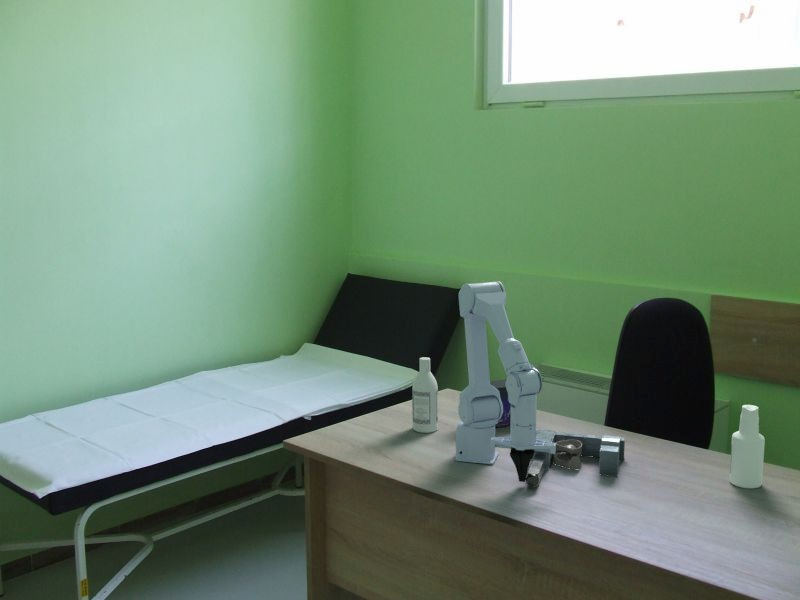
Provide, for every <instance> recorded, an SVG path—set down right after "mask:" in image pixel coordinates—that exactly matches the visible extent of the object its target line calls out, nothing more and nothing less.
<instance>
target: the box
mask: <svg viewBox="0 0 800 600" xmlns="http://www.w3.org/2000/svg"><path fill="white" fill-rule="evenodd" d="M506 380H507V378H506V379H499V380H490V384H491V385H492V386H493V387H495V388H496V389H497V390H499V393H500V399H501V402H502V405H503V414H502V417H501V418H500V419H499V420H498V424H495V429H499V427H500V428H505V426H508V427H510V421H511V403H509V400H508V392H507V389H506ZM481 397H484V396H481ZM475 398H477V397H475Z"/></svg>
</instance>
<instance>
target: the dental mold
mask: <svg viewBox="0 0 800 600" xmlns="http://www.w3.org/2000/svg"><path fill="white" fill-rule="evenodd" d="M556 450H557V451H559V450H561V451H567V452H562V453H555V454H552V461H551V463H552V462H553V463H554V464H556V465H555V466H557V465H560V466H559V467H561V466H563V467H562V468H564V467H566V468H565V469H567V468H570V469H569V470H574V469H581V468H582V466H581V465H582V462H581V457H582V456H581V454H582V443H581V442H580V441H578V440H563V441H559V442H556ZM553 463H552V464H553ZM554 464H553V465H554ZM580 467H581V468H580Z"/></svg>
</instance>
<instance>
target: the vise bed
mask: <svg viewBox="0 0 800 600" xmlns="http://www.w3.org/2000/svg"><path fill="white" fill-rule="evenodd" d="M538 430H539V429H536V434H537V432H538ZM563 440H578V441H580V442H581V443H582V454H581V455H582V456H581V457H585V456H593V457H592V458H596V457H600V458H599V467H598V468H599V473H598V474H601V475H600V476H607V475H608V476H609V477H618V473H619V466H620V461H624V460H625V449H626V448H625V447H626V446H625V445H626V444H625V443H626V438H625V437H621V435H620V436H619V435H608V434H603V435H597V434H595V435H593V434H583V433H574V432H573V433H572V432H560V431H555V443H556V442H559V441H563ZM562 452H567V451H561V450H559V451H557V450H556V452H555V453H562Z"/></svg>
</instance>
